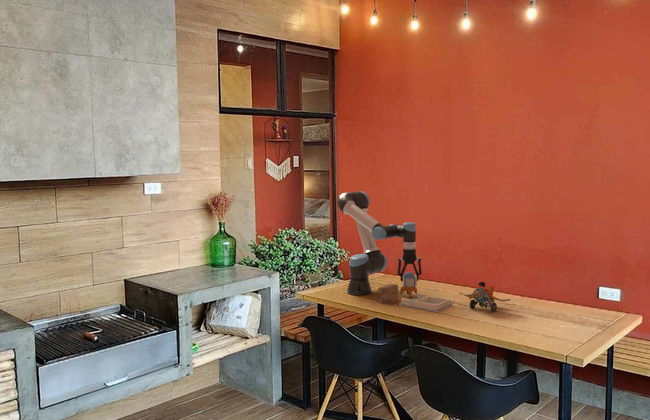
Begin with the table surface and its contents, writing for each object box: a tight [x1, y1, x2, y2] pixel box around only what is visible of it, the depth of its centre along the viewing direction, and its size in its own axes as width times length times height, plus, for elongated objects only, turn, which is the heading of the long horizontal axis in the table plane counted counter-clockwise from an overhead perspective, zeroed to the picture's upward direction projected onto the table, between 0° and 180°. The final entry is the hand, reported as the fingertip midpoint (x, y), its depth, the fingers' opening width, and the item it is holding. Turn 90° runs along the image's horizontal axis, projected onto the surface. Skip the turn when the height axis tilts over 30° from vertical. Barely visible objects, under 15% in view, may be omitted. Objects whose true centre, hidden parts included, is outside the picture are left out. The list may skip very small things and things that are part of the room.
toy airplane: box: [458, 281, 512, 313], centre depth 318 cm, size 29×23×15 cm
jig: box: [398, 292, 453, 313], centre depth 330 cm, size 24×18×4 cm
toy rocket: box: [399, 271, 418, 298], centre depth 350 cm, size 10×11×15 cm
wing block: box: [378, 283, 399, 305], centre depth 341 cm, size 5×12×9 cm, turn 137°
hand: (409, 286), depth 350 cm, fingers closed on toy rocket, 7 cm apart
